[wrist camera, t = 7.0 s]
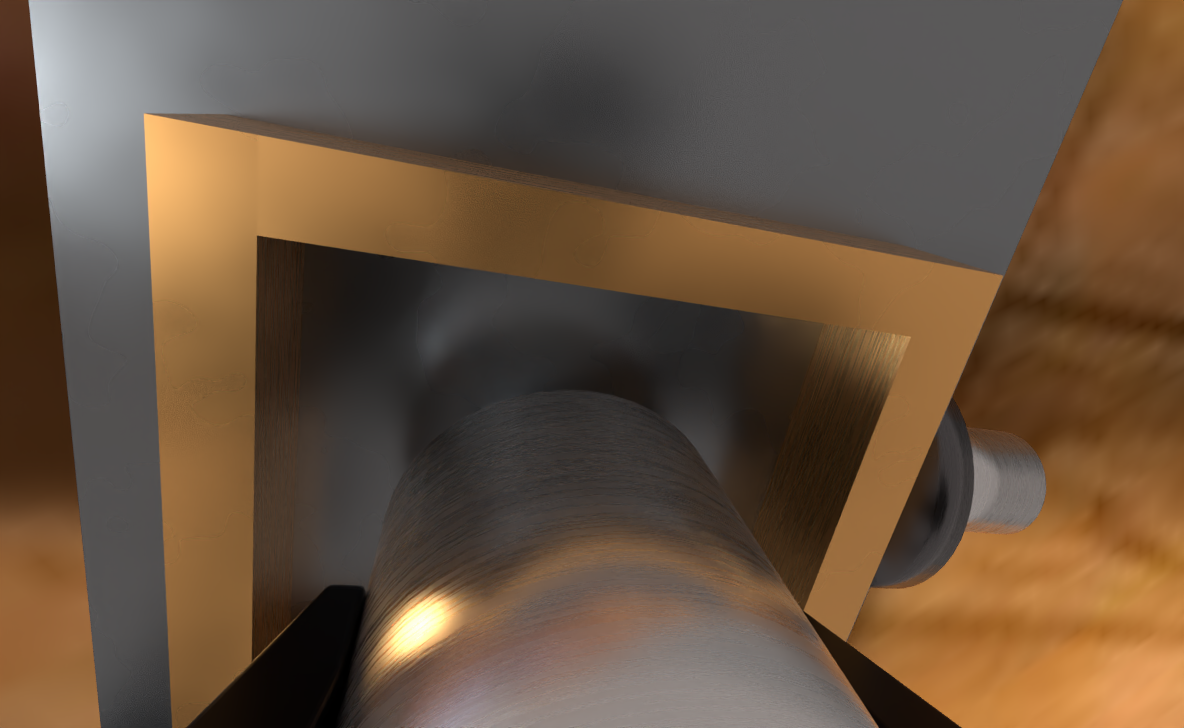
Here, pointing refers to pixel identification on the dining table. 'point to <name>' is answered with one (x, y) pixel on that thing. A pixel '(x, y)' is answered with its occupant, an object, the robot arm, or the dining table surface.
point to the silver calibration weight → (579, 587)
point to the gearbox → (525, 275)
